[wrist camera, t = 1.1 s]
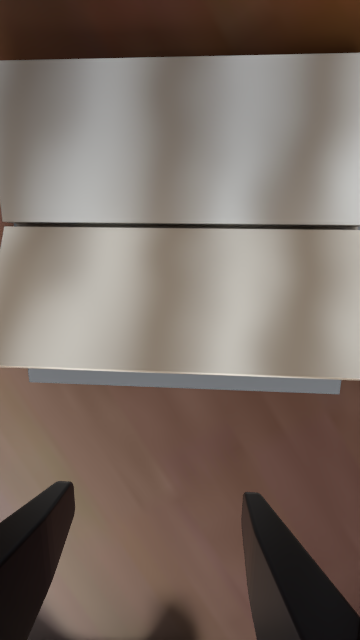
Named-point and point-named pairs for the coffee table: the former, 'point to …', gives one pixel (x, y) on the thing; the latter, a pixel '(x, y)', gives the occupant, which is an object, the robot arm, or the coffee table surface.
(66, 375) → the underlay mat
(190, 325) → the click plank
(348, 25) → the coffee table surface
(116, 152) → the plank
